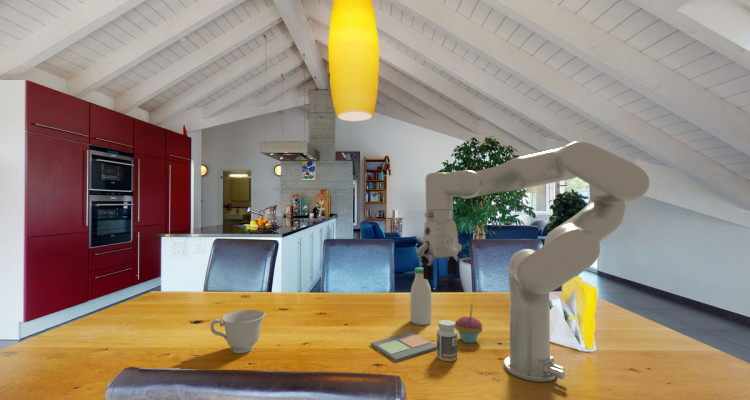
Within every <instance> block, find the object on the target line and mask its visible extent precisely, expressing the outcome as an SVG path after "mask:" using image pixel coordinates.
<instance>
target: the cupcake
mask: <svg viewBox="0 0 750 400" xmlns="http://www.w3.org/2000/svg"><path fill="white" fill-rule="evenodd" d="M473 306H474V304H473V303H470V308H469V310H470V311H469V316H462V317H460V318H458V319H457V320H456V321H455V330H456V331H458V334H459V337H460V340H461V341H463V343H469V344H472V343H473V344H474V343H476V342H477V338H478V336H479V334H480V333H482V331H483V324H482V323H481V321H479V319H476V318H475V317H473Z"/></svg>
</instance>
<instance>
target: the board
mask: <svg viewBox="0 0 750 400" xmlns="http://www.w3.org/2000/svg"><path fill="white" fill-rule="evenodd" d="M370 346H371V347H372V348H374V349H375V350H377V351H379V352H380V353H382V354H383V355H384V356H386V357H387V358H389V359H390V360H392V361H393V362H395V363H398V362H401V361H404V360H407V359H411V358H414V357H416V356H419V355H423V354H427V353H429V352H432V351H437V344H435V343H433V342H431V341H429V340H427V339H426V338H423V337H421V336H420V335H417V334H415V333H413V332H407V333H403V334H398V335H396V336H392V337H388V338H384V339H380V340H376V341H373V342H370Z"/></svg>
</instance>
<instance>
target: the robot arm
mask: <svg viewBox="0 0 750 400" xmlns="http://www.w3.org/2000/svg"><path fill="white" fill-rule="evenodd" d="M576 178H578V179H580V180H581V181H584V182H585V183H587V184H589V187H588V190H589V199H588V202H587V204H586V205H585V206H584V207H583V208H582V209H581V210H580V211H578V212H577V213H576V214H574V215H573V216H572V217H570V218H569V219H567V220H566V221H564V222H562V223H561V224H560V225H557V227H555V228H553V229H551V230H550V231H549V232H548V233H547V235H545V239H544V243H543V246H541V247H539V248H538V249H537V250H535V249H530V248H524V249H520V250H517V251H515V252H514V253H513V254H512V255H511V258H510V259H509V262H508V265H507V266H508V268H507V269H508V270H507V271H508V272H507V273H508V284H509V356H507V357H505V358H504V359H503V366H504V369H505V370H506V371H507V372H508V373H510V374H511V375H513V376H515V377H516V378H519V379H523V380H526V381H530V382H535V383H537V382H538V383H545V382H546V383H547V382H551V381H553V380H555V379H556V378H557V379H560V380H565V377H566V373H565V371H566V370H565V367H564V366H561V365H559V364H558V365H557V364H556V363H555V357H554V356H551V349H550V348H551V345H550V344H551V342H550V340H551V339H550V337H551V333H550V332H551V330H550V327H551V325H550V324H551V323H550V321H551V320H550V313H551V312H550V311H551V309H550V293H551V292H553V291H556V290H557V289H559V288H560V287H562V286H563V285H565V284H566V283H568V282H569V281H571V280H573V279H574V278H576V277H577V276H579V275H580V274H582V273H583V272H585V271H586V270H587V269H589V268H590V267H591V266H593V265H594V263H595V262H596V261H597V260H598V258H599V255H600V253H601V242H602V241H603V240H605V239H606V238H607V237H609V236H610V235H612V233H614V232H615V231H616V230H617V229H618V228H619V227H620V225H621V223H622V222H623V220H624V219H623V218H624V216H625V210H626V202H633V201H635V200H637V199H640V198H642V197H643V196H644V195H646V193H647V192H648V190H649V188H650V178H649V175H648V174H647V172H646V171H645V170H644V169H643V168H642V167H640V166H639V165H637V164H636V163H633V162H631V161H629V160H627V159H625V158H623V157H621V156H618V155H617V154H615V153H612V152H610V151H608V150H606V149H604V148H601V147H599V146H597V145H595V144H592V143H591V142H586V141H580V140H579V141H573V142H571V143H568V144H566V145H565V146H563V147H559V148H555V149H549V150H546V151H542V152H537V153H533V154H527V155H522V156H518V157H514V158H512V159H510V160H508V161H505V162H503V163H500V164H499V165H496V166H493V167H492V166H491V167H488V168H485V169H480V170H476V171H474V170H469V169H466V170H464V169H463V170H460V171H459V170H458V171H453V172H452V171H451V172H444V171H443V172H441V171H439V172H438V171H437V172H431V173H428V174H426V176H425V213H424V217H425V219H426V220H425V222H424V226H423V227H424V228H423V237H422V238H423V240H422V244H421V245H420V246H419V247H418V248H417V249H416V250H415V251H416V254H417V257H418V260H419V262H421V265H422V267H423V277H424V279H427V280H428V281H434V265H432V263H433V262H434V260H435V259H444V258H445V259H446V258H448V260H447V263H446V264H447V274H448V275H450V276H454V277H456V276H458V262H459V260H460V255H461V251H462V248H463V244H461V243H459V237H458V235H459V234H458V228H457V224H456V221H455V220H454V198H453V197H458V198H462V199H472V198H476V197H481V196H487V195H491V194H497V193H501V192H507V191H509V192H510V191H518V190H524V189H527V188H532V187H537V186H543V185H549V184H553V183H558V182H562V181H568V180H572V179H576Z"/></svg>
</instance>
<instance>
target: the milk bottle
mask: <svg viewBox="0 0 750 400" xmlns="http://www.w3.org/2000/svg"><path fill="white" fill-rule="evenodd" d="M414 275H415V276H414V280H413V282H412V284H411V287H410V301H409V302H410V310H409V311H410V316H409V317H410V319H409V320H410V322H411V323H412V324H414V325H417V326H427V325H430V324H431V323H432V289H431V285H430V283H429V280H427V279H424V277H423V266H422V267H419V266H418V267H415V268H414Z"/></svg>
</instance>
